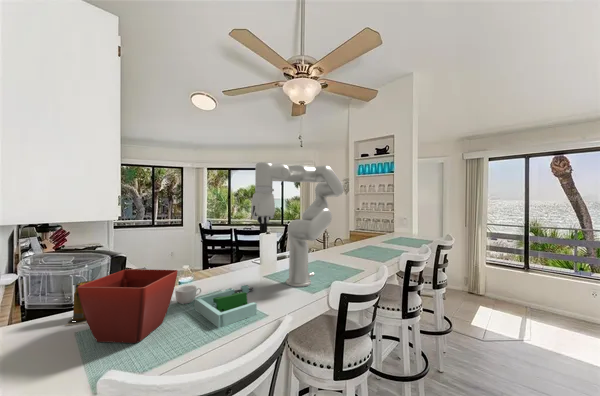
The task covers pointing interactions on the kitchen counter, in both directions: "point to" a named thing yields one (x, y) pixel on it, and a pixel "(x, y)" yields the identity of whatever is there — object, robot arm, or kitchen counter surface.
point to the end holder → (226, 317)
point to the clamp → (230, 301)
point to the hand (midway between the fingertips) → (263, 232)
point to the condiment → (77, 308)
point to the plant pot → (127, 303)
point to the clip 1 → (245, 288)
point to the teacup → (186, 294)
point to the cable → (241, 290)
